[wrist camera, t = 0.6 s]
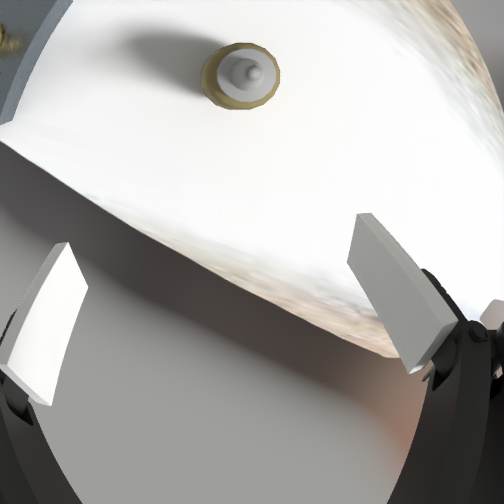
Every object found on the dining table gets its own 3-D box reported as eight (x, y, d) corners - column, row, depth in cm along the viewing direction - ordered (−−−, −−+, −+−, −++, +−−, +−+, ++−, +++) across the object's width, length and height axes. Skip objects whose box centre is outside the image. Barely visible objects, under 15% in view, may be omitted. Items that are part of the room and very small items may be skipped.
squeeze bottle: (225, 38, 26) (239, -2, 12) (277, 71, 30) (335, 67, 15) (189, 87, 29) (166, 92, 15) (241, 118, 33) (267, 152, 18)
